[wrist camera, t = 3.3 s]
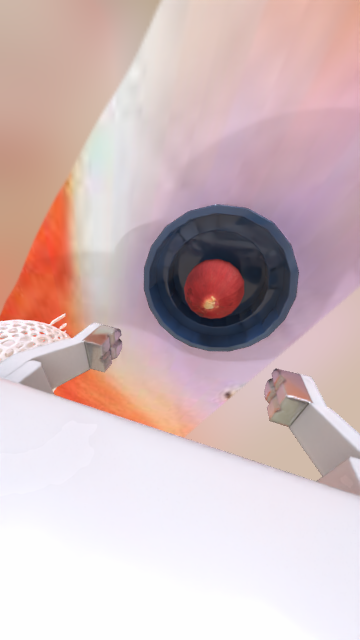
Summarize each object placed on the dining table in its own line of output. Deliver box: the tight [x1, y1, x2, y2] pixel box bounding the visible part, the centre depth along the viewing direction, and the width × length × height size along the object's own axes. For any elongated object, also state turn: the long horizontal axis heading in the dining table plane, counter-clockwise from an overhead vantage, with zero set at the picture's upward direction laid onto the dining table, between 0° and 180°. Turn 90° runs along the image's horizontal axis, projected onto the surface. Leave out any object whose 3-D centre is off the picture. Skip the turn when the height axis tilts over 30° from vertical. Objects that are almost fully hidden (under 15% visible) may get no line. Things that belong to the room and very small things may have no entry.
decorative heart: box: [0, 314, 71, 392], centre depth 27 cm, size 18×11×17 cm, turn 157°
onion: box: [184, 259, 244, 319], centre depth 18 cm, size 6×6×8 cm
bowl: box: [144, 204, 299, 351], centre depth 19 cm, size 14×14×5 cm
